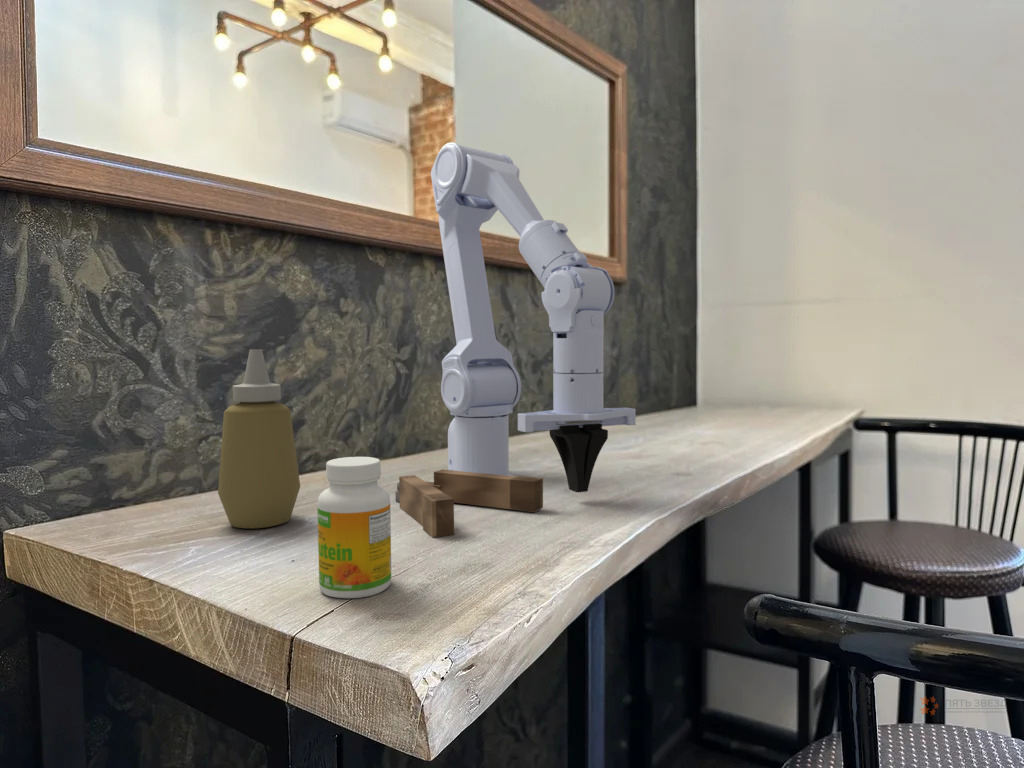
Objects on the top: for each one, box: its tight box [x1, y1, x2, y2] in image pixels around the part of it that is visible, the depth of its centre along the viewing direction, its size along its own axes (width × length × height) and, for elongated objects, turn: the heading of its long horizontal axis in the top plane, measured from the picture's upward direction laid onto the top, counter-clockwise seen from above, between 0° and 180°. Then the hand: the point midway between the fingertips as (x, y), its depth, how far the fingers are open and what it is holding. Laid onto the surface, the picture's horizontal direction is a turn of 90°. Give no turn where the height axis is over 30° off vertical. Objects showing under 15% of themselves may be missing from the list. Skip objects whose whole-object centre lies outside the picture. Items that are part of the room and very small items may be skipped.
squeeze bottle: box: [217, 348, 301, 529], centre depth 70 cm, size 8×8×18 cm
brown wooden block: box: [394, 474, 455, 538], centre depth 74 cm, size 18×4×4 cm, turn 25°
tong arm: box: [396, 469, 544, 513], centre depth 77 cm, size 18×4×3 cm, turn 63°
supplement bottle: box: [317, 456, 392, 599], centre depth 51 cm, size 5×5×10 cm
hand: (578, 490), depth 78 cm, fingers closed
